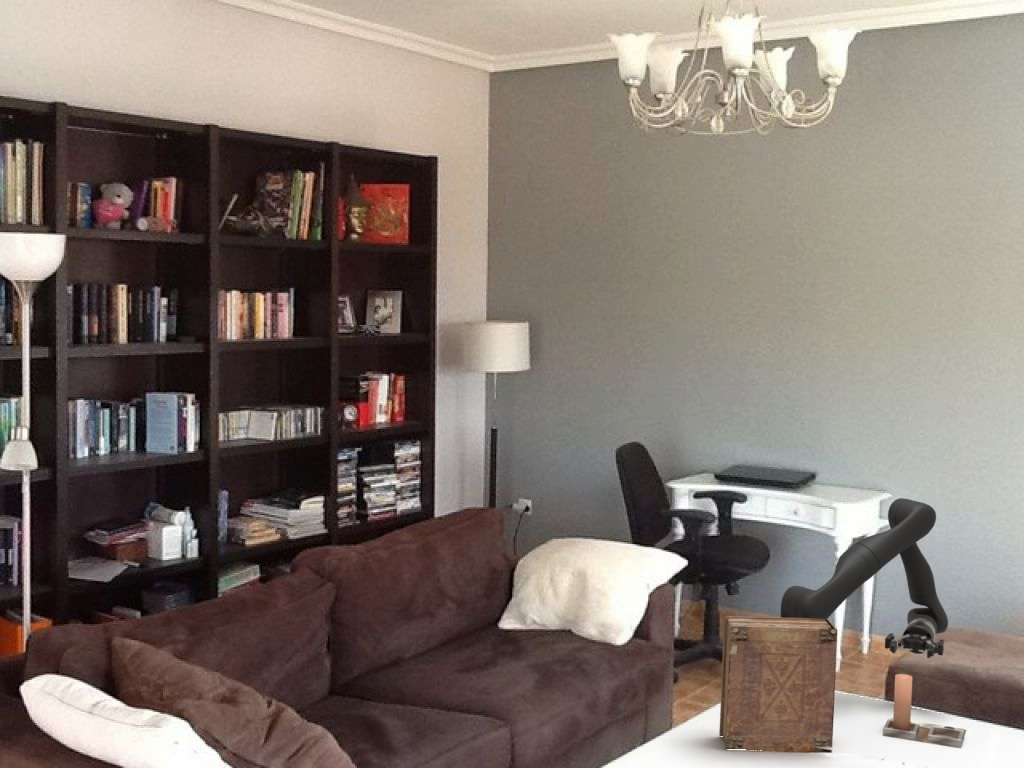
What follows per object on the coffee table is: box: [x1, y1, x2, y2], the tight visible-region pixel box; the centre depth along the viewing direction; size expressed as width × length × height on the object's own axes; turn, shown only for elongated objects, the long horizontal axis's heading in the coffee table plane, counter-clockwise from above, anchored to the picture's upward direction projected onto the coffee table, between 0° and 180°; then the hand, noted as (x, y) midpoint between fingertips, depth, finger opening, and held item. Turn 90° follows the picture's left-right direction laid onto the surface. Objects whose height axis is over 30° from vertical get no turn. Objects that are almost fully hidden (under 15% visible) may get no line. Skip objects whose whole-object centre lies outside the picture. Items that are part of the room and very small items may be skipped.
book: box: [718, 615, 838, 754], centre depth 304 cm, size 25×9×30 cm, turn 89°
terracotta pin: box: [892, 673, 913, 731], centre depth 310 cm, size 4×4×14 cm
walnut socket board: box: [882, 717, 967, 749], centre depth 311 cm, size 18×14×3 cm
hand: (910, 651), depth 319 cm, fingers open, 8 cm apart
